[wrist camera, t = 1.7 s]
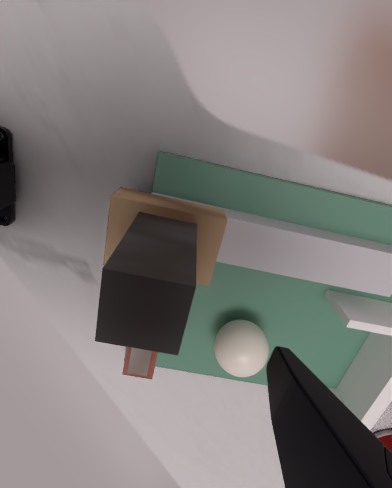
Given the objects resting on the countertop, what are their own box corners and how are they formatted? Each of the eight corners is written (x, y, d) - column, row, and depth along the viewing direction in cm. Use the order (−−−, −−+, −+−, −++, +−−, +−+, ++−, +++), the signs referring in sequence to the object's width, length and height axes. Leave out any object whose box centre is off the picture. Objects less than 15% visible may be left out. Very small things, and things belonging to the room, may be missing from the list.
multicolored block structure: (109, 329, 22) (48, 473, 13) (128, 180, 18) (54, 244, 8) (183, 342, 23) (174, 489, 14) (221, 201, 18) (245, 282, 9)
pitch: (126, 352, 25) (112, 397, 21) (160, 151, 18) (149, 159, 14) (346, 390, 27) (373, 439, 23) (453, 219, 20) (519, 245, 16)
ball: (207, 343, 23) (209, 385, 20) (219, 304, 22) (224, 341, 18) (253, 351, 24) (264, 394, 20) (269, 313, 22) (283, 352, 18)
